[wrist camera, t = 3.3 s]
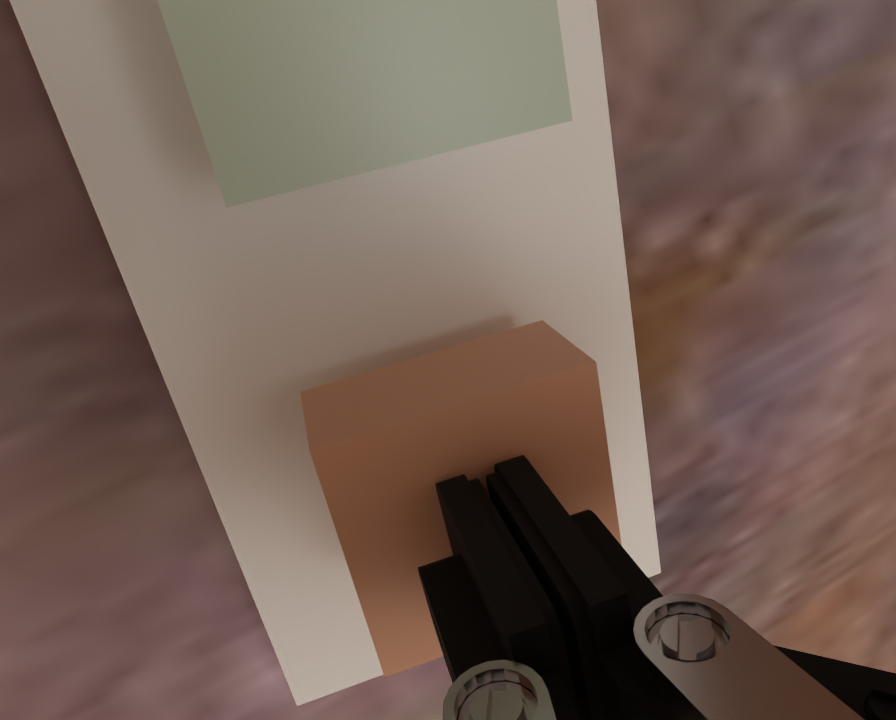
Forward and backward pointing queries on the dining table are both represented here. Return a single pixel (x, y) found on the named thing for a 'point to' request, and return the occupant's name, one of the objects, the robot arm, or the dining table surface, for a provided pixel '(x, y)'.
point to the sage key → (360, 82)
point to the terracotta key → (448, 460)
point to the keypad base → (336, 292)
